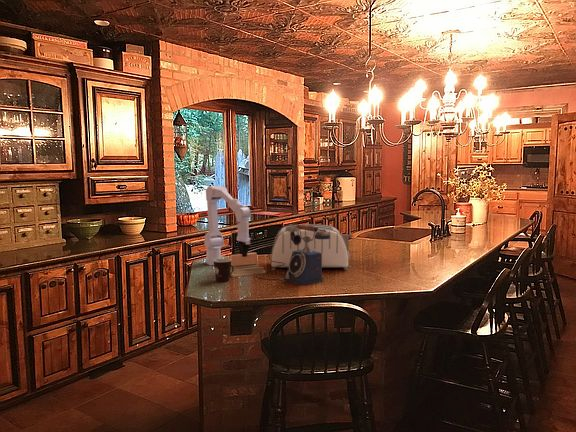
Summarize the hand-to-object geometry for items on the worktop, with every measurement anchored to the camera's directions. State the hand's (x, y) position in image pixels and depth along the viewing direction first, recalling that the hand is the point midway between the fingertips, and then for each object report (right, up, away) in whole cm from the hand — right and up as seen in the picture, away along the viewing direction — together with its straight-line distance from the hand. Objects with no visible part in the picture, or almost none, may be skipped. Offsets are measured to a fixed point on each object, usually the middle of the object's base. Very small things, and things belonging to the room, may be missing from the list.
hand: (243, 256), depth 249 cm
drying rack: (0, -8, +1) cm, 8 cm away
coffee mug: (-8, -11, -19) cm, 23 cm away
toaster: (+36, -7, +14) cm, 40 cm away
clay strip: (0, -4, +1) cm, 4 cm away
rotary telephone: (+25, -10, -13) cm, 31 cm away
